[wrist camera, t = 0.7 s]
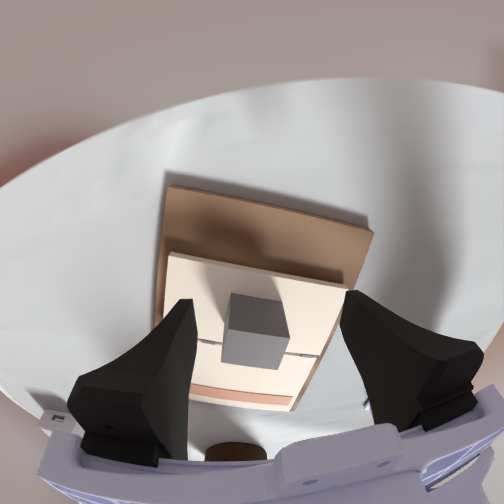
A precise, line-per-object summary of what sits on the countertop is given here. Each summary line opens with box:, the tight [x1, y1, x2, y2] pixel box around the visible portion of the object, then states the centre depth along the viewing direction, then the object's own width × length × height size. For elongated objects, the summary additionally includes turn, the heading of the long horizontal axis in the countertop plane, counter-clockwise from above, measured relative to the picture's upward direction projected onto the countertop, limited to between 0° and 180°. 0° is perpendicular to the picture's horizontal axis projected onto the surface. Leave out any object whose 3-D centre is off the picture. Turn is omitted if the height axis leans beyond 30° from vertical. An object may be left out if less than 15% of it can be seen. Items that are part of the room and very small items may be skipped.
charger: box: [38, 409, 85, 438], centre depth 33 cm, size 5×9×15 cm
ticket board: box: [154, 185, 374, 411], centre depth 24 cm, size 22×16×1 cm
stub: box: [163, 252, 349, 370], centre depth 20 cm, size 7×14×5 cm, turn 77°
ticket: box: [189, 338, 317, 411], centre depth 25 cm, size 9×14×1 cm, turn 77°
